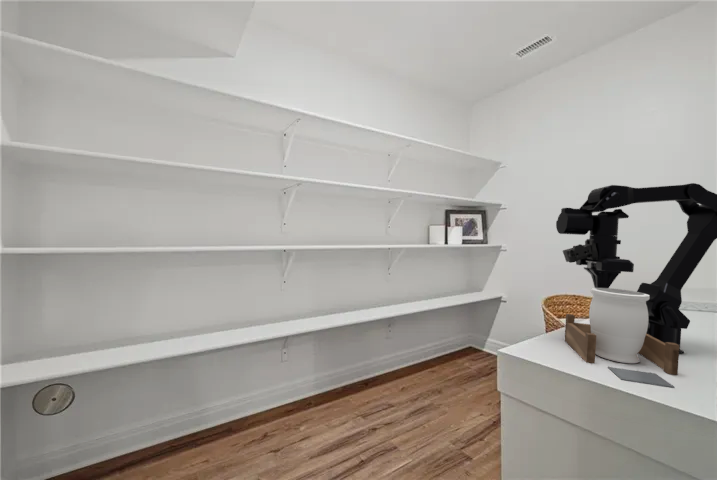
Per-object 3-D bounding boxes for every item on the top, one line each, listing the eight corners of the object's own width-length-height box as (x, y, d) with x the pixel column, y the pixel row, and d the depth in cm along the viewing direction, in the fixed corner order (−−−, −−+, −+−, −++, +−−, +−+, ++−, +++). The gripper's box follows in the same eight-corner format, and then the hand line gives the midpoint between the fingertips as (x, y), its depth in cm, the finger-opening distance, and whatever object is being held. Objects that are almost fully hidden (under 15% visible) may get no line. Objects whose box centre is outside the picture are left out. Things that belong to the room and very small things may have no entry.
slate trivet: (655, 374, 64) (655, 373, 64) (674, 387, 58) (674, 386, 58) (607, 367, 66) (607, 366, 66) (621, 379, 60) (621, 378, 60)
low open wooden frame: (637, 349, 78) (638, 321, 78) (677, 375, 64) (679, 340, 64) (564, 340, 83) (566, 313, 83) (586, 362, 69) (588, 329, 68)
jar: (658, 369, 67) (662, 297, 66) (602, 362, 69) (606, 293, 68) (626, 351, 77) (630, 289, 77) (578, 346, 79) (582, 285, 79)
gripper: (557, 234, 93) (554, 288, 94) (579, 233, 76) (575, 299, 76) (602, 236, 90) (599, 291, 90) (636, 235, 72) (632, 304, 73)
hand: (599, 296), depth 82 cm, fingers closed
